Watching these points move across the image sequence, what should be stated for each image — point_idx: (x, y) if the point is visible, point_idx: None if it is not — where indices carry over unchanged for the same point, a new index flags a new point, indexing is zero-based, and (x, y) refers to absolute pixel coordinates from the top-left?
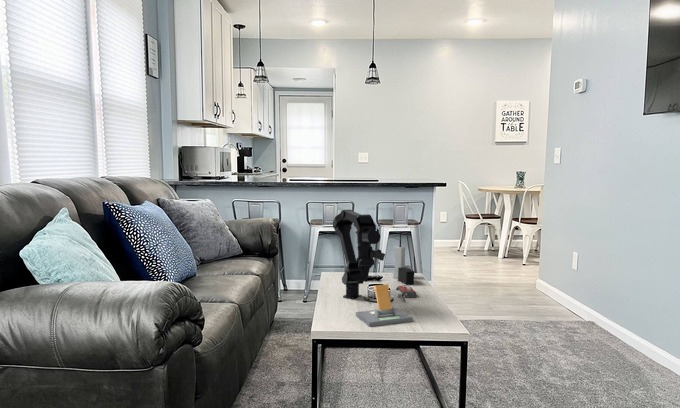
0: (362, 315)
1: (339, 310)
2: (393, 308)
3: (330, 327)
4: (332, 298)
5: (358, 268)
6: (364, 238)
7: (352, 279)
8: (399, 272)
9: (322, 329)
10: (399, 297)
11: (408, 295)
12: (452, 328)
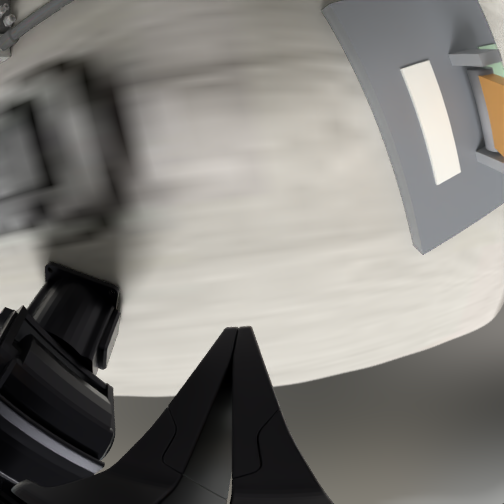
0: (466, 218)
1: (331, 323)
2: (492, 62)
3: (487, 300)
4: (147, 370)
5: (22, 436)
6: None
7: (98, 398)
8: None
9: (491, 313)
10: (9, 47)
11: (2, 3)
12: None
